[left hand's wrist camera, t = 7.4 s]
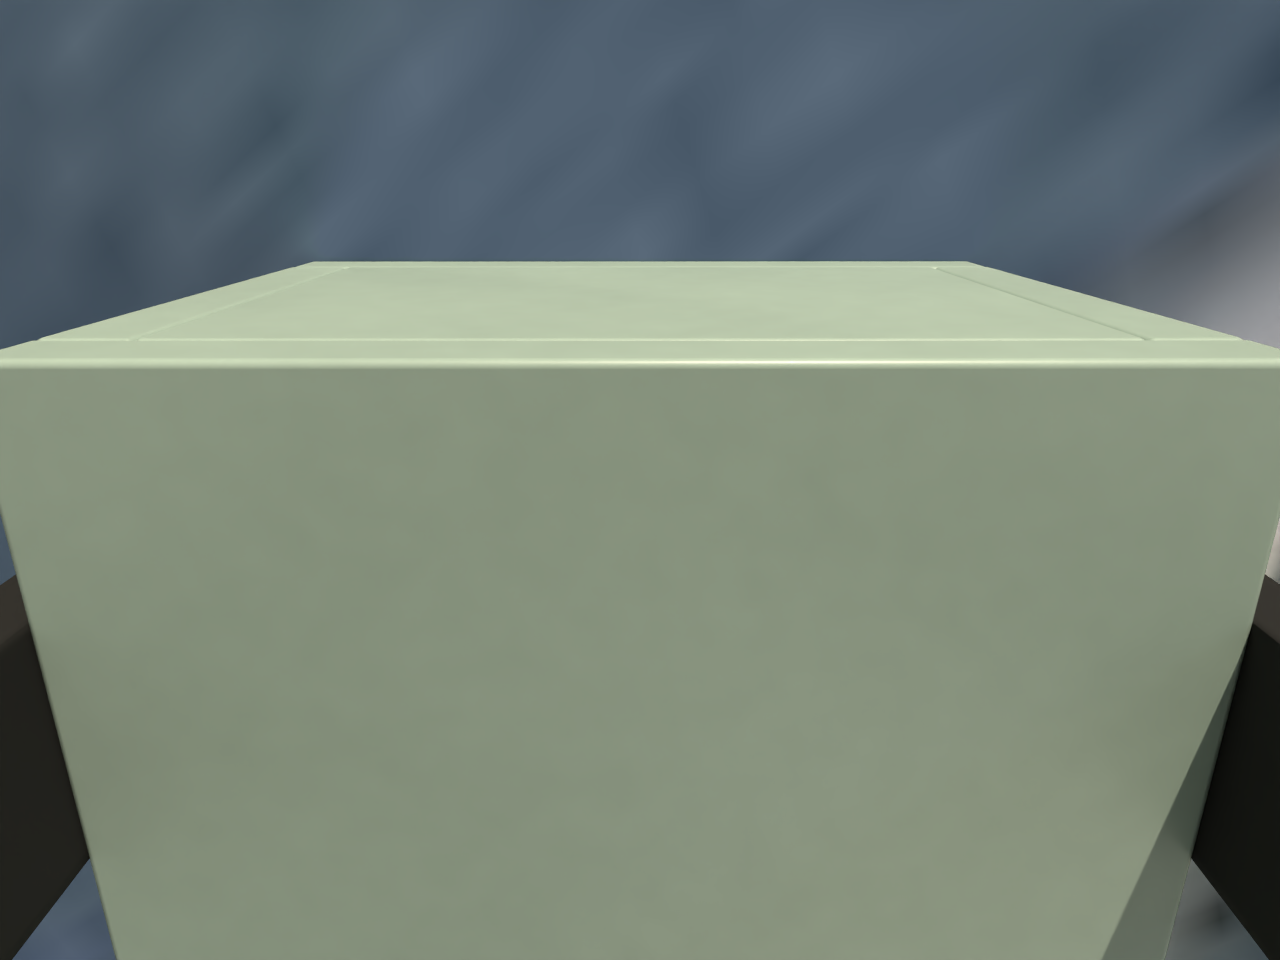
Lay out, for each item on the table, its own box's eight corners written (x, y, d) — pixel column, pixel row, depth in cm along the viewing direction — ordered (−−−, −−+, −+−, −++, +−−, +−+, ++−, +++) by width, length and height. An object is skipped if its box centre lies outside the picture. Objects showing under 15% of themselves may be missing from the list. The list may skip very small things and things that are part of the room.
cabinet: (870, 1084, 22) (1000, 1602, 14) (410, 1085, 22) (280, 1603, 14) (969, 260, 15) (1324, 359, 7) (309, 261, 15) (-45, 359, 7)
